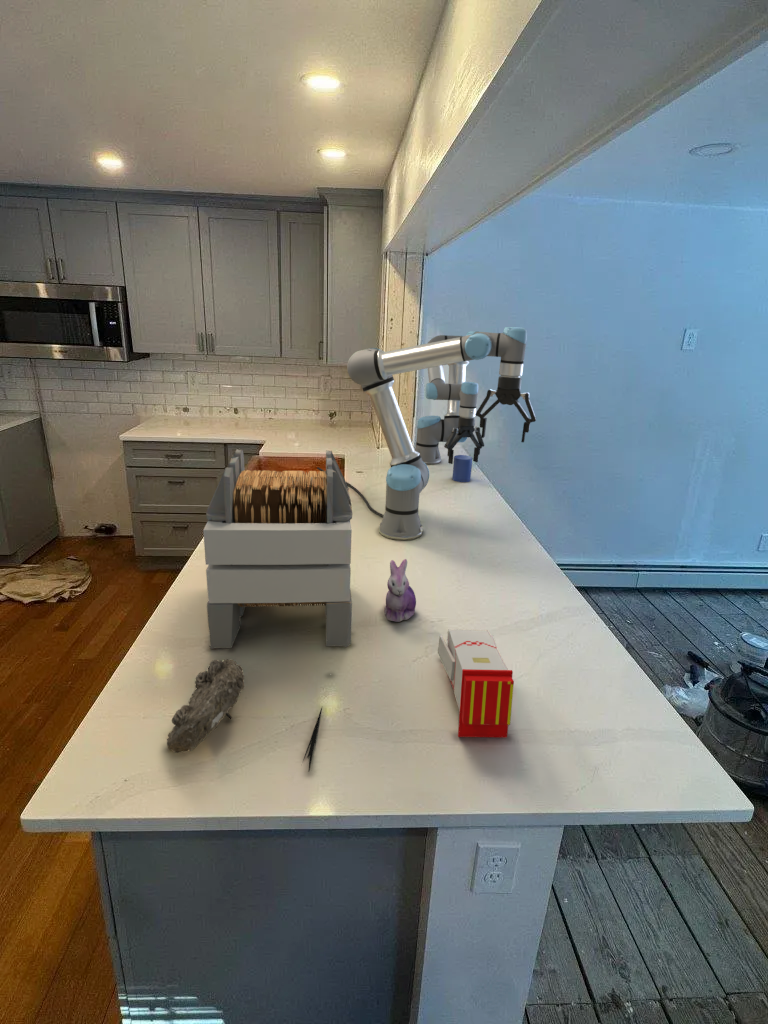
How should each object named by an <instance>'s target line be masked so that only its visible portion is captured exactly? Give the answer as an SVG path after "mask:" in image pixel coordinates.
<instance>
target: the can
mask: <svg viewBox="0 0 768 1024" xmlns="http://www.w3.org/2000/svg"><path fill="white" fill-rule="evenodd" d="M473 458H474V457H473V456H471V455H466V454H457V455H453V464H452V465H453V466H452V478H451V479H452V481H454V482H457V483H469V482H471V477H472V467H473Z"/></svg>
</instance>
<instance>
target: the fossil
mask: <svg viewBox="0 0 768 1024" xmlns="http://www.w3.org/2000/svg"><path fill="white" fill-rule="evenodd" d="M243 670H244V669H243V667H242V665H240V664H237V662H236V661H235V660H234V659H232V658H231V659H227V658H226V659H224V660H223V661H222V660H217V659H212V660H211V661H210V663H209V665H208V666H207V671H201V672H199V673H198V674H197V675H196V676H195V680H194V684H195V685H194V687H195V689H194V690H193V693H192V694H191V697H190V698H189V700H188V704H184V705H182V706H181V707H180V709H177V710H176V711H175V713H174V715H173V716H172V718H171V723H172V724H173V727H172V730H171V731H170V732H168V734H167V738H166V741H167V742H166V745H167V749H168V750H169V751H173V752H174V753H176V754H178V753H182V752H188V751H189V752H192V751H193V750H195V748H196V747H197V746H199V744H200V743H201V742H203V741H204V740H205V739H206V738H207V737H208V736H209V735H210V734H211V733H212V732H214V730H215V729H217V727H218V726H219V724H220V722H221V721H222V720H223V719H224V718H225V716H226V717H227V719H229V720H233V717H232V715H230V714H229V710H230V709H231V708H234V706H235V704H236V703H237V702H238V699H239V697H240V695H241V693H242V691H243V690H245V689H244V688H245V675H244V671H243Z"/></svg>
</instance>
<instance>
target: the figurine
mask: <svg viewBox="0 0 768 1024" xmlns="http://www.w3.org/2000/svg"><path fill="white" fill-rule="evenodd" d="M407 567H408V559H406V558H404V559H403V560H402V561H401V563H400V565H399V566H398V565H397V563H396V562H395V561H394V560H393V559H391V560H390V561H389V570H390V576H389V578H388V579H387V589H388V591H387V592H386V594H385V595H386V596H385V607H384V615H385V616H386V620H387V621H391V622H395V623H400V622H402V621H406V620H409V619H410V618H411V617H413V616H414V615H415V610H416V606H417V597H416V593H415V591H414V590H413V587H411V586H410V582H409V579H408V577H407V574H406V571H407Z"/></svg>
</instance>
